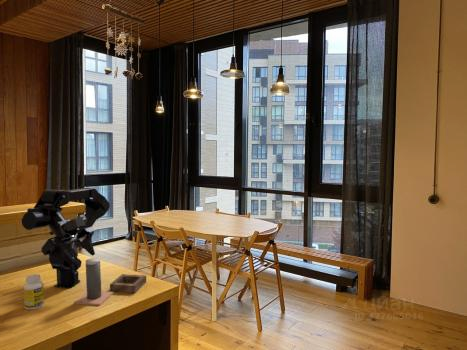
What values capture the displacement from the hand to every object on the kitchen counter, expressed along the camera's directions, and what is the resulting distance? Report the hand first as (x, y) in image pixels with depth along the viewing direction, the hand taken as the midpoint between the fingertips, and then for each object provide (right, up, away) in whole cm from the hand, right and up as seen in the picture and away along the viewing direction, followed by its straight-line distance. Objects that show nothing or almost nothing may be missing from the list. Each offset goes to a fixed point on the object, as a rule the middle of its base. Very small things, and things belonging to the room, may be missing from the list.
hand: (84, 258), depth 116 cm
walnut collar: (+12, -12, +10) cm, 20 cm away
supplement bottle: (-13, -14, -6) cm, 20 cm away
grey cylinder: (+3, -13, 0) cm, 13 cm away
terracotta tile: (+4, -13, 0) cm, 14 cm away
